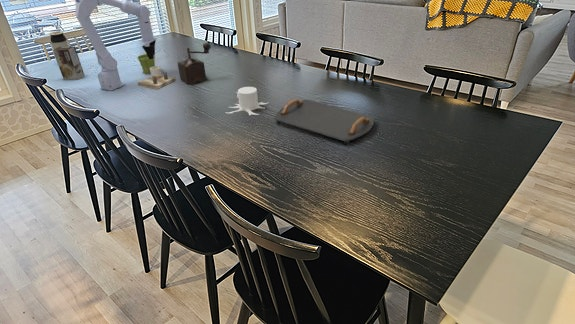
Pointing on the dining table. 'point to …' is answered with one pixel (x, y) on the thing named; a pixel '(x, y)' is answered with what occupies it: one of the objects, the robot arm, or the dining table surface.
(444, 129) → the dining table surface
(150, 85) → the pin board
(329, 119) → the serving board
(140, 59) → the plant pot
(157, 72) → the sleeve
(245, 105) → the tree stump
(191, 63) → the manual coffee grinder
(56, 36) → the travel mug
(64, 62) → the coffee box
